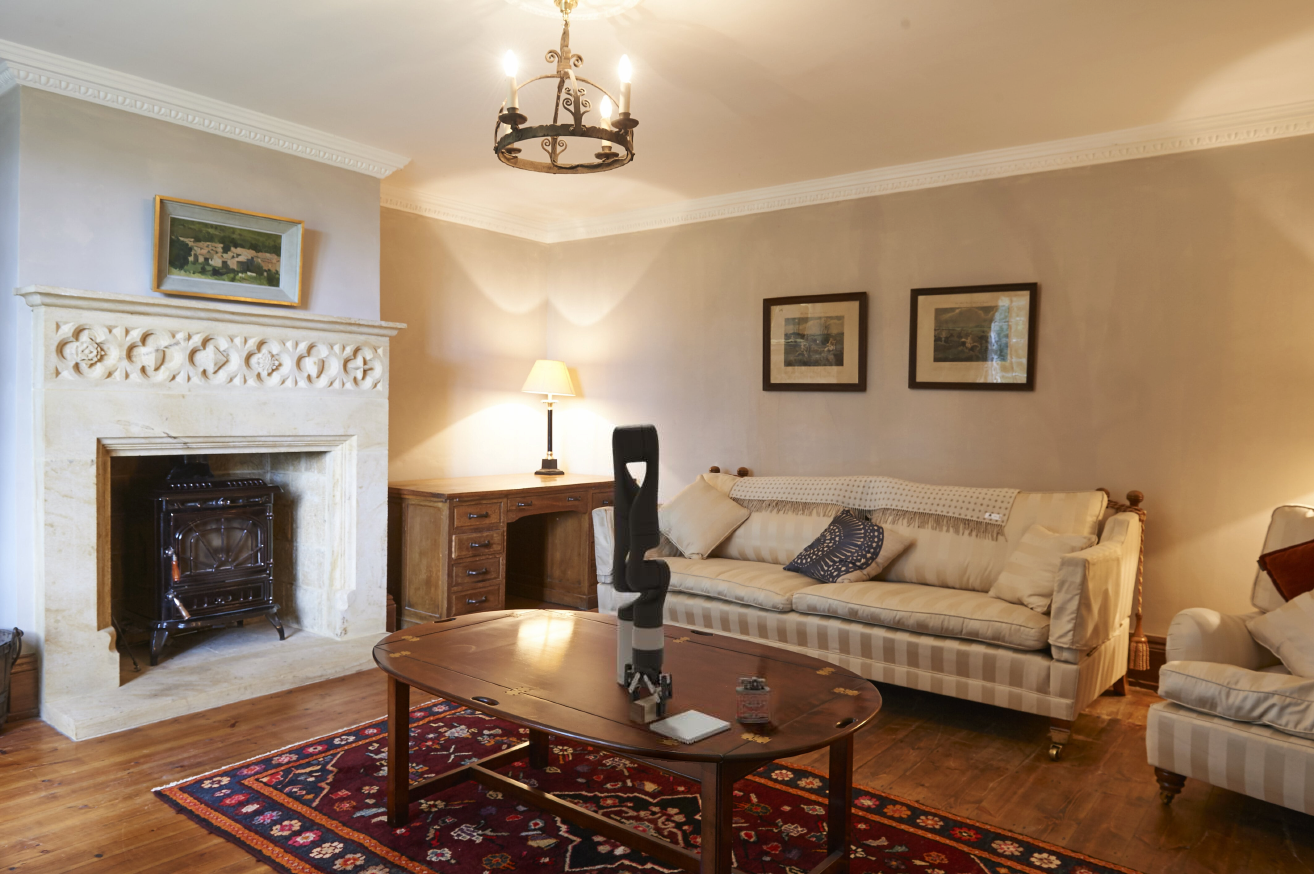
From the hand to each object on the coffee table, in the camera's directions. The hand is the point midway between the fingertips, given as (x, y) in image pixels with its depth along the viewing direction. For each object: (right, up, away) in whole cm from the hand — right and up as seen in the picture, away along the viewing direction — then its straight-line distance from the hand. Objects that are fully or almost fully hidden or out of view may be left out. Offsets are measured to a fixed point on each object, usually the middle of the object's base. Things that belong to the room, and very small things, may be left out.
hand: (647, 712), depth 194 cm
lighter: (+25, -2, -1) cm, 25 cm away
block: (0, -1, 0) cm, 1 cm away
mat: (+10, -2, -6) cm, 12 cm away
